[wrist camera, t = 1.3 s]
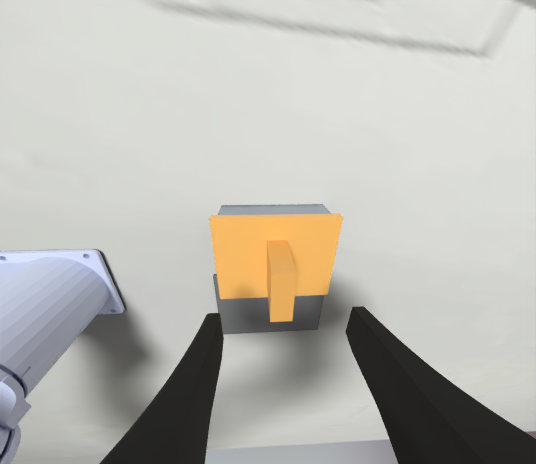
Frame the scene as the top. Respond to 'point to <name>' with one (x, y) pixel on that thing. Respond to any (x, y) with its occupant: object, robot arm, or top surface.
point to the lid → (275, 257)
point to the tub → (272, 209)
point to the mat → (266, 314)
